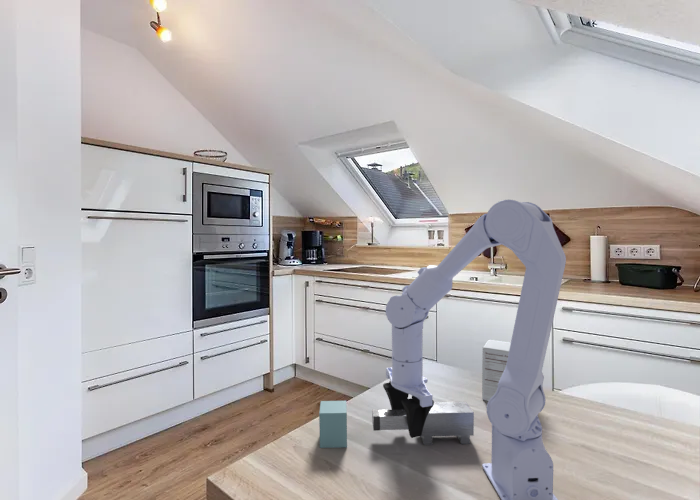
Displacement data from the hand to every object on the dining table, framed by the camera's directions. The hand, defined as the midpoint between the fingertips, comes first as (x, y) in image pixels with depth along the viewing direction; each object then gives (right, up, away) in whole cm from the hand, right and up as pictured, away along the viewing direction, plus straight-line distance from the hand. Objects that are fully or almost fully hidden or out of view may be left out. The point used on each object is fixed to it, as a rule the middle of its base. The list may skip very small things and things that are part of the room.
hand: (407, 427), depth 74 cm
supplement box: (+25, -1, +18) cm, 30 cm away
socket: (-14, -2, 0) cm, 14 cm away
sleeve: (+7, -2, 0) cm, 7 cm away
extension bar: (+2, 0, 0) cm, 2 cm away
